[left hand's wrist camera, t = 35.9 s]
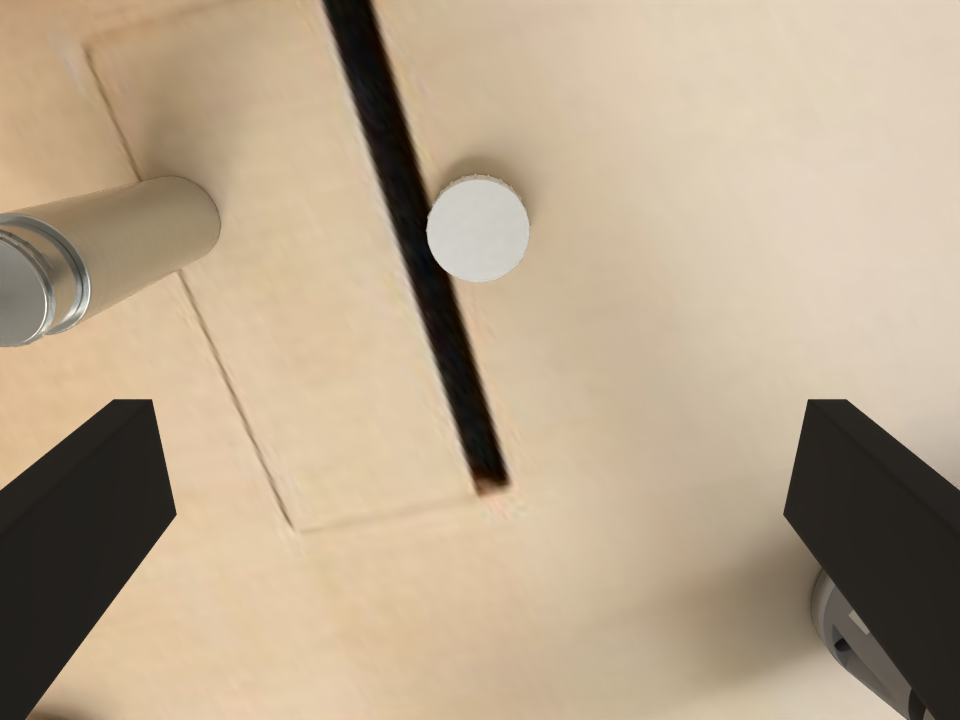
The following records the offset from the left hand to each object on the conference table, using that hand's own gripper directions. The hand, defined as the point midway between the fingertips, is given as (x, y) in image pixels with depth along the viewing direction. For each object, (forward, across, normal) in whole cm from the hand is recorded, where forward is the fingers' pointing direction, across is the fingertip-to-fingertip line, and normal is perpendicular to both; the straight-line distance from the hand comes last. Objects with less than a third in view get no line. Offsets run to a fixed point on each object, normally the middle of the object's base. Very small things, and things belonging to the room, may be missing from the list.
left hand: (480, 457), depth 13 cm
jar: (+26, +17, -1) cm, 31 cm away
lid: (+24, 0, 0) cm, 24 cm away
